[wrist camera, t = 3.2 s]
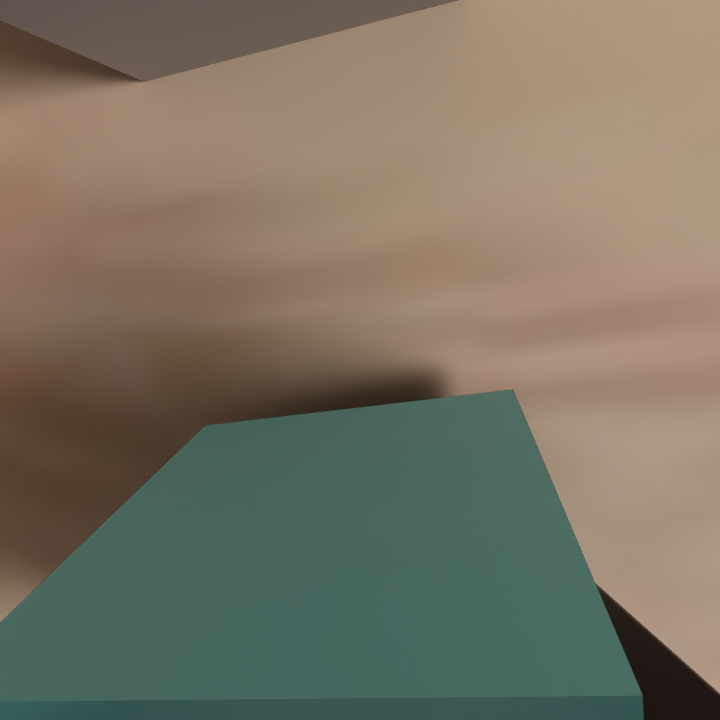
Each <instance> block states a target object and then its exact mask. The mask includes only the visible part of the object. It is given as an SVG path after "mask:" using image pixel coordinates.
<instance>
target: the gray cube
mask: <svg viewBox="0 0 720 720" xmlns="http://www.w3.org/2000/svg"><path fill="white" fill-rule="evenodd" d="M453 1H457V0H0V21H2V22H5V23H7V24H9V25H12V26H14V27H16V28H19V29H21V30H23V31H26V32H28V33H30V34H33V35H35V36H38V37H40V38H42V39H45V40H47V41H49V42H52V43H54V44H56V45H59V46H61V47H63V48H66V49H68V50H70V51H73V52H75V53H78V54H80V55H82V56H85V57H87V58H89V59H92V60H94V61H96V62H99V63H101V64H103V65H106V66H108V67H110V68H113V69H115V70H118V71H120V72H122V73H125V74H127V75H129V76H132V77H134V78H136V79H139V80H141V81H143V82H145V81H149V80H153V79H156V78H160V77H164V76H168V75H172V74H176V73H179V72H183V71H187V70H191V69H195V68H199V67H203V66H206V65H210V64H214V63H218V62H222V61H226V60H230V59H233V58H237V57H241V56H245V55H249V54H253V53H256V52H260V51H264V50H268V49H272V48H276V47H280V46H283V45H287V44H291V43H295V42H299V41H303V40H307V39H310V38H314V37H318V36H322V35H326V34H330V33H333V32H337V31H341V30H345V29H349V28H353V27H357V26H360V25H364V24H368V23H372V22H376V21H380V20H384V19H387V18H391V17H395V16H399V15H403V14H407V13H410V12H414V11H418V10H422V9H426V8H430V7H434V6H437V5H441V4H445V3H449V2H453Z"/></svg>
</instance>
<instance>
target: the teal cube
mask: <svg viewBox="0 0 720 720" xmlns="http://www.w3.org/2000/svg"><path fill="white" fill-rule="evenodd" d="M0 720H644V714H643V695H642V693H641V690H640V688H639V685H638V683H637V681H636V678H635V676H634V674H633V671H632V669H631V667H630V664H629V662H628V660H627V657H626V655H625V652H624V650H623V648H622V645H621V643H620V641H619V638H618V636H617V634H616V631H615V629H614V626H613V624H612V622H611V619H610V617H609V615H608V612H607V610H606V608H605V605H604V603H603V600H602V598H601V596H600V593H599V591H598V589H597V586H596V584H595V582H594V579H593V577H592V574H591V572H590V570H589V567H588V565H587V563H586V560H585V558H584V556H583V553H582V551H581V549H580V546H579V544H578V541H577V539H576V537H575V534H574V532H573V530H572V527H571V525H570V523H569V520H568V518H567V515H566V513H565V511H564V508H563V506H562V504H561V501H560V499H559V497H558V494H557V492H556V489H555V487H554V485H553V482H552V480H551V478H550V475H549V473H548V471H547V468H546V466H545V464H544V461H543V459H542V456H541V454H540V452H539V449H538V447H537V445H536V442H535V440H534V438H533V435H532V433H531V430H530V428H529V426H528V423H527V421H526V419H525V416H524V414H523V412H522V409H521V407H520V404H519V402H518V400H517V397H516V395H515V393H514V390H504V391H496V392H487V393H479V394H470V395H461V396H453V397H444V398H436V399H427V400H419V401H410V402H402V403H393V404H384V405H376V406H367V407H359V408H350V409H342V410H333V411H325V412H316V413H307V414H299V415H290V416H282V417H273V418H265V419H256V420H248V421H239V422H230V423H222V424H213V425H205V426H204V427H203V428H202V429H201V430H200V431H199V432H198V433H197V434H196V435H195V436H194V437H193V438H192V439H191V440H190V441H189V442H188V443H186V444H185V445H184V446H183V447H182V448H181V449H180V450H179V451H178V452H177V453H176V454H175V455H174V456H173V457H172V458H171V459H170V460H169V461H168V462H167V463H166V464H165V465H164V466H163V467H161V468H160V469H159V470H158V471H157V472H156V473H155V474H154V475H153V476H152V477H151V478H150V479H149V480H148V481H147V482H146V483H145V484H144V485H143V486H142V487H141V488H140V489H139V490H138V491H137V492H135V493H134V494H133V495H132V496H131V497H130V498H129V499H128V500H127V501H126V502H125V503H124V504H123V505H122V506H121V507H120V508H119V509H118V510H117V511H116V512H115V513H114V514H113V515H112V516H111V517H109V518H108V519H107V520H106V521H105V522H104V523H103V524H102V525H101V526H100V527H99V528H98V529H97V530H96V531H95V532H94V533H93V534H92V535H91V536H90V537H89V538H88V539H87V540H86V541H84V542H83V543H82V544H81V545H80V546H79V547H78V548H77V549H76V550H75V551H74V552H73V553H72V554H71V555H70V556H69V557H68V558H67V559H66V560H65V561H64V562H63V563H62V564H61V565H60V566H58V567H57V568H56V569H55V570H54V571H53V572H52V573H51V574H50V575H49V576H48V577H47V578H46V579H45V580H44V581H43V582H42V583H41V584H40V585H39V586H38V587H37V588H36V589H35V590H34V591H32V592H31V593H30V594H29V595H28V596H27V597H26V598H25V599H24V600H23V601H22V602H21V603H20V604H19V605H18V606H17V607H16V608H15V609H14V610H13V611H12V612H11V613H10V614H9V615H8V616H6V617H5V618H4V619H3V620H2V621H1V622H0Z"/></svg>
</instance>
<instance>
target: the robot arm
mask: <svg viewBox="0 0 720 720" xmlns="http://www.w3.org/2000/svg"><path fill="white" fill-rule="evenodd" d="M595 584H596V583H595ZM596 586H597V589H598V591H599V593H600V596H601V598H602V600H603V603H604V605H605V608H606V610H607V612H608V615H609V617H610V619H611V622H612V624H613V626H614V629H615V631H616V634H617V636H618V638H619V641H620V643H621V645H622V648H623V650H624V652H625V655H626V657H627V660H628V662H629V664H630V667H631V669H632V671H633V674H634V676H635V678H636V681H637V683H638V685H639V688H640V690H641V693H642V695H643V714H644V720H720V693H718V692H717V691H716V690H715V689H714V688H713V687H712V686H711V685H709V684H708V683H707V682H706V681H705V680H704V679H703V678H702V677H700V676H699V675H698V674H697V673H696V672H695V671H694V670H693V669H691V668H690V667H689V666H688V665H687V664H686V663H685V662H684V661H682V660H681V659H680V658H679V657H678V656H677V655H676V654H675V653H673V652H672V651H671V650H670V649H669V648H668V647H667V646H666V645H664V644H663V643H662V642H661V641H660V640H659V639H658V638H657V637H655V636H654V635H653V634H652V633H651V632H650V631H649V630H648V629H646V628H645V627H644V626H643V625H642V624H641V623H640V622H639V621H637V620H636V619H635V618H634V617H633V616H632V615H631V614H629V613H628V612H627V611H626V610H625V609H624V608H623V607H622V606H620V605H619V604H618V603H617V602H616V601H615V600H614V599H613V598H611V597H610V596H609V595H608V594H607V593H606V592H605V591H604V590H602V589H601V588H600V587H599V586H598V585H597V584H596Z"/></svg>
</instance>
